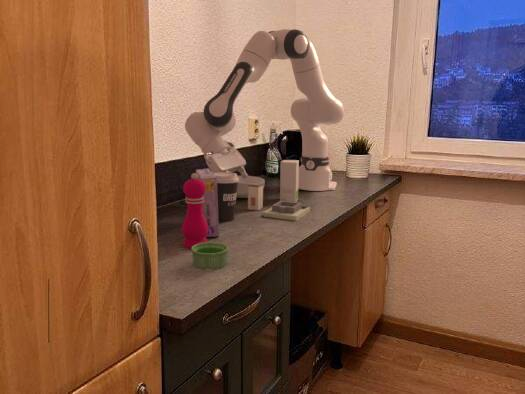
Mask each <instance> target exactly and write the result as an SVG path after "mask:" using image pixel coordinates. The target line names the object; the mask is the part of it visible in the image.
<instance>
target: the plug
mask: <svg viewBox="0 0 525 394" xmlns="http://www.w3.org/2000/svg"><path fill="white" fill-rule="evenodd" d="M263 203H264V189H263V183H251V184H248V198H247V209H248V210H250V211H251V210H252V211H260V210H261V209H263V207H264V205H263Z"/></svg>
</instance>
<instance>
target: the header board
mask: <svg viewBox="0 0 525 394" xmlns="http://www.w3.org/2000/svg"><path fill="white" fill-rule="evenodd" d="M309 212H311V207H309V205H308V204H303V203H302V202H297V201H296V202H289V201H280V200H279V201H277V202H276V203H274V204H272V205H271V207H270V208H268V209H266V210H264V211H263V212H262V217H265V218H272V219H278V220H280V219H281V220H287V221H288V220H289V221H295V222H296V221H298V220H300V219H301V218H303V217H304V216H305V215H307V214H309Z"/></svg>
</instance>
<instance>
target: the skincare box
mask: <svg viewBox="0 0 525 394" xmlns="http://www.w3.org/2000/svg"><path fill="white" fill-rule="evenodd" d="M299 161H300V160H297V159H283V160H281V161H280V164H279V165H280V166H279V167H280V168H279V169H280V170H279V171H280V172H279V173H280V176H279V177H280V179H279V180H280V181H279V182H280V183H279V186H280V187H279V189H280V190H279V191H280V192H279V201H289V202H297V201H298V199H299V188H298V182H299V167H300V164H299V163H300V162H299Z"/></svg>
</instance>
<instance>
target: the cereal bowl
mask: <svg viewBox="0 0 525 394" xmlns="http://www.w3.org/2000/svg"><path fill="white" fill-rule="evenodd" d="M237 177H238V178H239V182H238V185H237V195H236V198H239V199H248V184H251V183H263V190H264V188H265V185H266V184H265V183H266V180H265V179H264V178H262V177H258V176H253V175H248V177H247V178H246V179H243V178H242V177H241V175H237Z"/></svg>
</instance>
